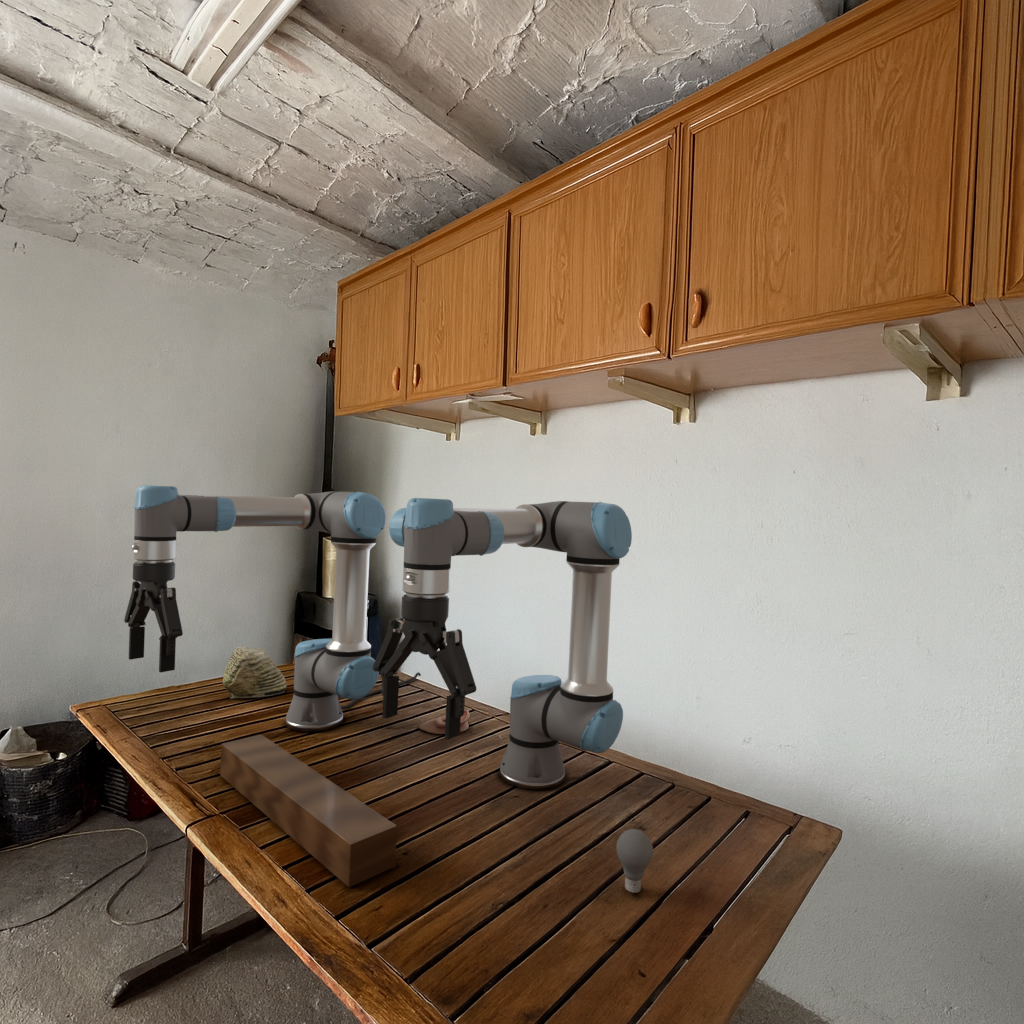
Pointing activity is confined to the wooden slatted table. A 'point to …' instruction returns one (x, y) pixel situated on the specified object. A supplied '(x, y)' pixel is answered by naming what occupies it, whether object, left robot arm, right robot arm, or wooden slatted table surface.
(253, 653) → the fossil
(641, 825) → the wooden slatted table surface
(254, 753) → the beam
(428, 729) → the anatomical model
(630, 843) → the light bulb
